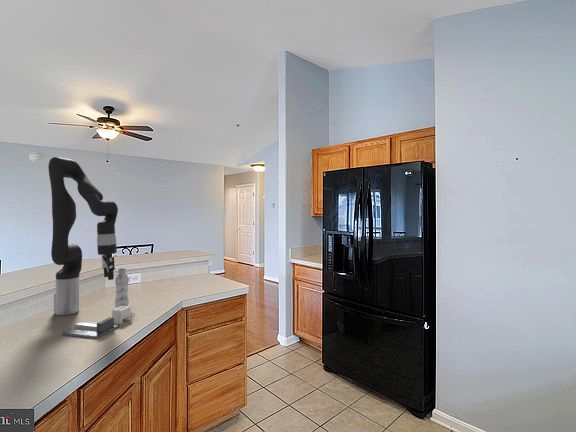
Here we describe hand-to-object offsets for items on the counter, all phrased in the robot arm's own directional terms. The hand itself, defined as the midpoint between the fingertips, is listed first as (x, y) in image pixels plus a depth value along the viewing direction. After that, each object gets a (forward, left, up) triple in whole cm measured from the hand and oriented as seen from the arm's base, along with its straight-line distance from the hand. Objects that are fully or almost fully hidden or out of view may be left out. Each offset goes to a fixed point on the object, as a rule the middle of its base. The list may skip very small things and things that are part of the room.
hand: (108, 278), depth 136 cm
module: (+8, -2, -19) cm, 21 cm away
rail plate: (+4, -14, -19) cm, 24 cm away
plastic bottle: (-5, +14, -19) cm, 24 cm away
